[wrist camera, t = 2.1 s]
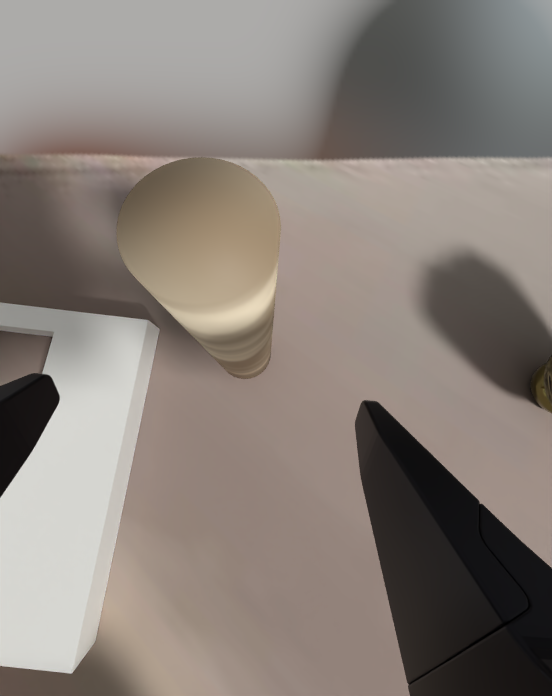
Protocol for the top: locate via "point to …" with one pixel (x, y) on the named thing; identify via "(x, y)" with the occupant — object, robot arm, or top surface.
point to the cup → (543, 386)
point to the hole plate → (70, 485)
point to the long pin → (208, 255)
